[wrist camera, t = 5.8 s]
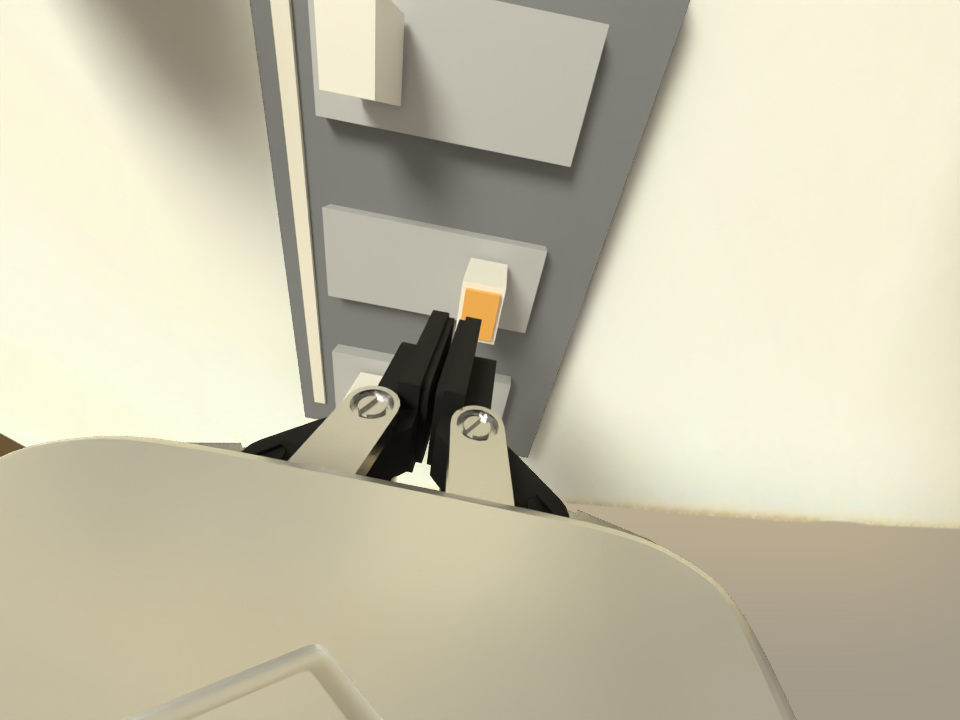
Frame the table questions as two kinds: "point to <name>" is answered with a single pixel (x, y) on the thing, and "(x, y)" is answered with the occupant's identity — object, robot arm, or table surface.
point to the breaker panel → (456, 179)
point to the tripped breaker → (483, 296)
